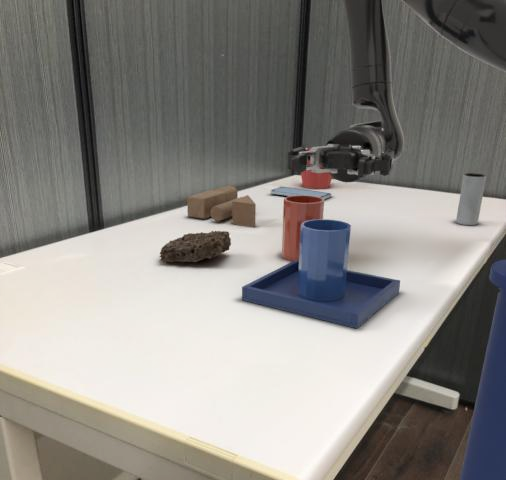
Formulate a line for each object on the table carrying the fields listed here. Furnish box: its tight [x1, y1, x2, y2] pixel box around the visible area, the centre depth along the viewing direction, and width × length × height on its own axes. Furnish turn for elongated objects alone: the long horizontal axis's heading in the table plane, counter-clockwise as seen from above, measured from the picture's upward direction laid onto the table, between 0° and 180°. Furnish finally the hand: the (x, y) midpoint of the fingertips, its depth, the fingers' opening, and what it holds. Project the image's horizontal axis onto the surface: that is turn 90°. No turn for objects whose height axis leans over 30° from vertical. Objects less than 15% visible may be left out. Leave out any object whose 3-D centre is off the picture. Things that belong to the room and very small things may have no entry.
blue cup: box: [298, 218, 352, 302], centre depth 81 cm, size 7×7×10 cm
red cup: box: [281, 195, 325, 262], centre depth 99 cm, size 7×7×10 cm
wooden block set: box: [186, 185, 257, 228], centre depth 128 cm, size 17×6×18 cm
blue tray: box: [241, 260, 401, 329], centre depth 82 cm, size 18×16×2 cm
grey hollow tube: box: [455, 172, 487, 226], centre depth 123 cm, size 4×4×10 cm
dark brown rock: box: [159, 230, 232, 263], centre depth 97 cm, size 12×10×5 cm
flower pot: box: [300, 148, 333, 190], centre depth 161 cm, size 11×11×10 cm
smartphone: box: [270, 186, 332, 200], centre depth 150 cm, size 7×1×15 cm
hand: (328, 167), depth 73 cm, fingers open, 8 cm apart
